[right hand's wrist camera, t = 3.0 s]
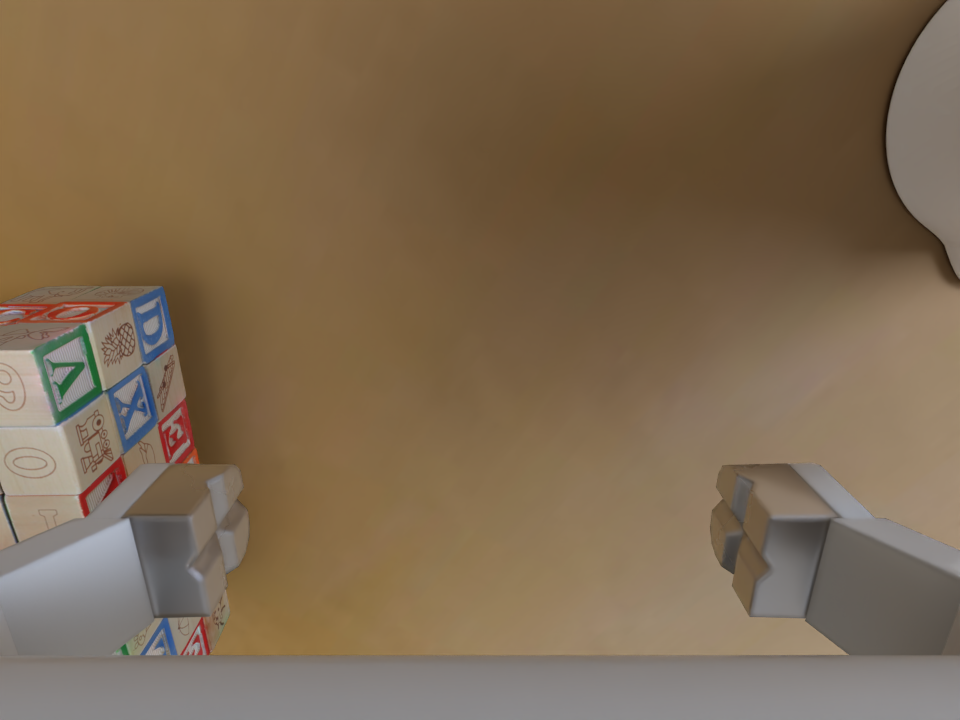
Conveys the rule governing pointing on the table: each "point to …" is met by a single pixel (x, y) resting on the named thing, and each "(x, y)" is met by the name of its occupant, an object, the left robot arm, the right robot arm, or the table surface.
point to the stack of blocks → (92, 419)
